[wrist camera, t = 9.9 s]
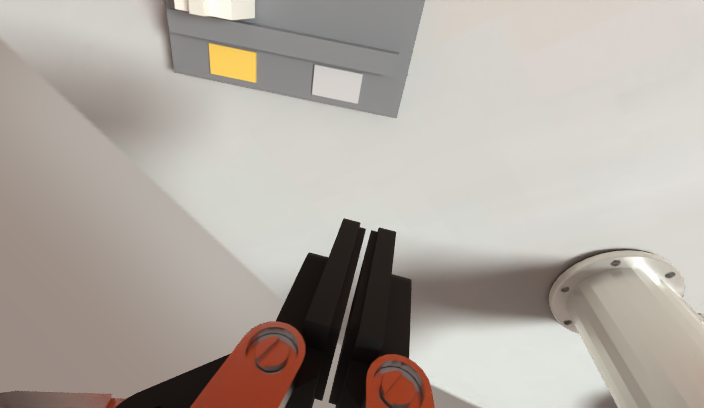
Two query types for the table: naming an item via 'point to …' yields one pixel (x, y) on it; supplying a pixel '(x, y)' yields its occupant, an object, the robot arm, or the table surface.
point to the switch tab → (219, 8)
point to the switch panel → (305, 49)
